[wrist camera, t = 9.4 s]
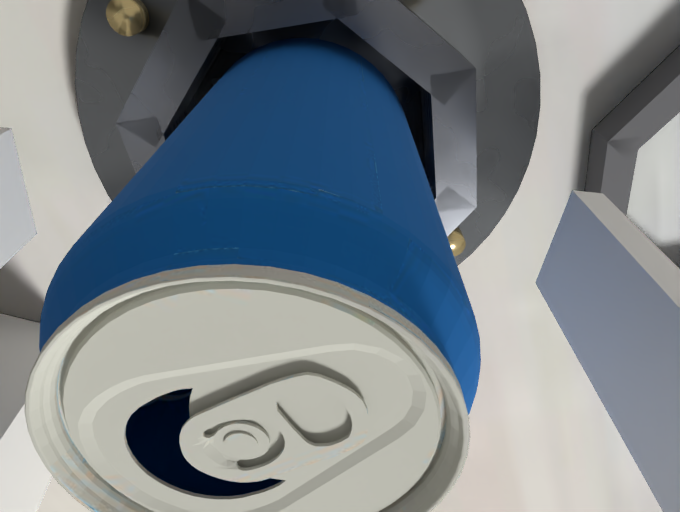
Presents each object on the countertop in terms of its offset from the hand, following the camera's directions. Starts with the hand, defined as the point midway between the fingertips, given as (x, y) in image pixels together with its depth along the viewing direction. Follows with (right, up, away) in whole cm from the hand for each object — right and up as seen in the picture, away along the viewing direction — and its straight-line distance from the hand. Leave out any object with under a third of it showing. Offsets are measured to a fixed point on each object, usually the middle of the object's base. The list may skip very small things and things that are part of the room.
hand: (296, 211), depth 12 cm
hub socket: (0, +3, +5) cm, 6 cm away
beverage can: (0, +3, +5) cm, 5 cm away
